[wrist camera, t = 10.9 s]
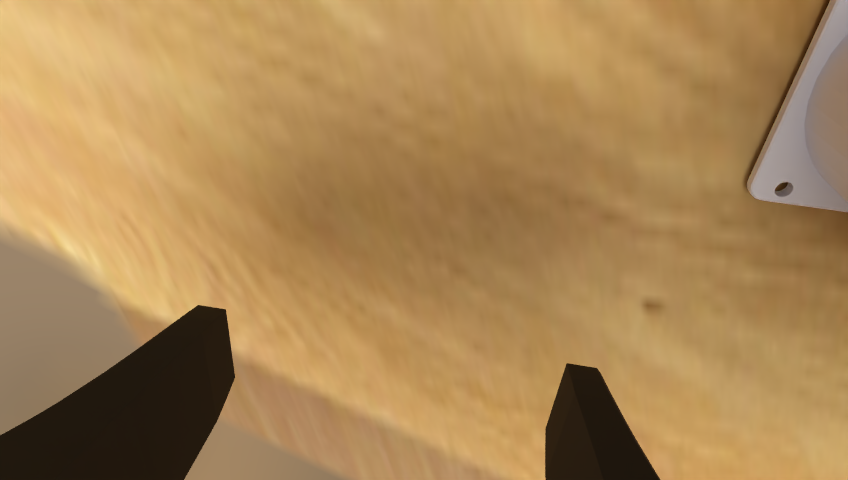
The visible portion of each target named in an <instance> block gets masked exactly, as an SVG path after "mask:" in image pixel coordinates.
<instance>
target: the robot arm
mask: <svg viewBox="0 0 848 480" xmlns="http://www.w3.org/2000/svg"><path fill="white" fill-rule="evenodd" d="M783 182H788V185H787V186H786V187H785V189H783V190H781V191H775V188H776V187H777V186H778V185H779V184H781V183H783ZM747 188H748V191H749V192H750V194H751V195H752V196H753V197H754V198H755V199H758V200H762V201H770V202H777V203H784V204H791V205H799V206H806V207H813V208H820V209H827V210H835V211H842V212H848V0H830V2H829V4H828V6H827V8H826V11H825V13H824V15H823V17H822V19H821V22H820V24H819V26H818V28H817V30H816V32H815V35H814V37H813V39H812V41H811V43H810V46H809V48H808V50H807V52H806V54H805V57H804V59H803V61H802V63H801V65H800V67H799V70H798V72H797V74H796V76H795V78H794V81H793V83H792V85H791V87H790V89H789V91H788V94H787V96H786V98H785V100H784V102H783V105H782V107H781V109H780V111H779V113H778V116H777V118H776V120H775V122H774V124H773V126H772V129H771V131H770V133H769V135H768V137H767V140H766V142H765V144H764V146H763V148H762V150H761V153H760V155H759V157H758V159H757V161H756V164H755V166H754V168H753V170H752V172H751V175H750V177H749V179H748V182H747ZM234 378H235V374H234V366H233V359H232V352H231V344H230V337H229V329H228V322H227V315H226V309H219V308H213V307H207V306H200V305H198V306H196V307H195V308H194V309H192V310H191V311H189V312H188V313H186V314H185V315H184V316H182V317H181V318H180V319H178V320H177V321H175V322H174V323H173V324H171V325H170V326H169V327H167V328H166V329H164V330H163V331H162V332H160V333H159V334H158V335H156V336H155V337H153V338H152V339H151V340H149V341H148V342H147V343H145V344H144V345H142V346H141V347H140V348H138V349H137V350H135V351H134V352H133V353H131V354H130V355H128V356H127V357H126V358H124V359H123V360H121V361H120V362H118V363H117V364H116V365H114V366H113V367H111V368H110V369H109V370H107V371H106V372H104V373H103V374H101V375H100V376H98V377H96V378H95V379H93V380H92V381H90V382H89V383H87V384H86V385H84V386H83V387H81V388H80V389H78V390H77V391H75V392H73V393H72V394H70V395H69V396H67V397H66V398H64V399H63V400H61V401H60V402H58V403H56V404H55V405H53V406H51V407H50V408H48V409H46V410H45V411H43V412H41V413H40V414H38V415H36V416H34V417H33V418H31V419H29V420H27V421H26V422H24V423H22V424H20V425H18V426H17V427H15V428H13V429H11V430H9V431H8V432H6V433H4V434H2V435H0V480H184V479H185V477H186V475H187V473H188V472H189V470H190V468H191V466H192V464H193V463H194V461H195V459H196V458H197V456H198V454H199V452H200V450H201V449H202V447H203V445H204V443H205V442H206V440H207V438H208V436H209V435H210V433H211V431H212V429H213V427H214V425H215V424H216V422H217V420H218V417H219V415H220V413H221V410H222V408H223V406H224V403H225V401H226V399H227V396H228V394H229V391H230V389H231V386H232V384H233V381H234ZM545 477H546V480H660V478H659V477H658V475H657V474H656V472H655V470H654V469H653V467H652V465H651V464H650V462H649V460H648V459H647V457H646V455H645V454H644V452H643V450H642V449H641V447H640V445H639V444H638V442H637V440H636V439H635V437H634V435H633V433H632V432H631V430H630V428H629V426H628V424H627V423H626V421H625V419H624V417H623V415H622V413H621V412H620V410H619V408H618V406H617V404H616V402H615V400H614V398H613V397H612V395H611V393H610V391H609V389H608V387H607V385H606V383H605V381H604V379H603V377H602V375H601V373H600V372H599V370H598V369H597V368H593V367H587V366H580V365H574V364H568V363H567V364H566V367H565V370H564V373H563V376H562V380H561V383H560V386H559V389H558V392H557V395H556V398H555V401H554V404H553V407H552V410H551V414H550V417H549V420H548V423H547V426H546V443H545Z"/></svg>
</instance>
